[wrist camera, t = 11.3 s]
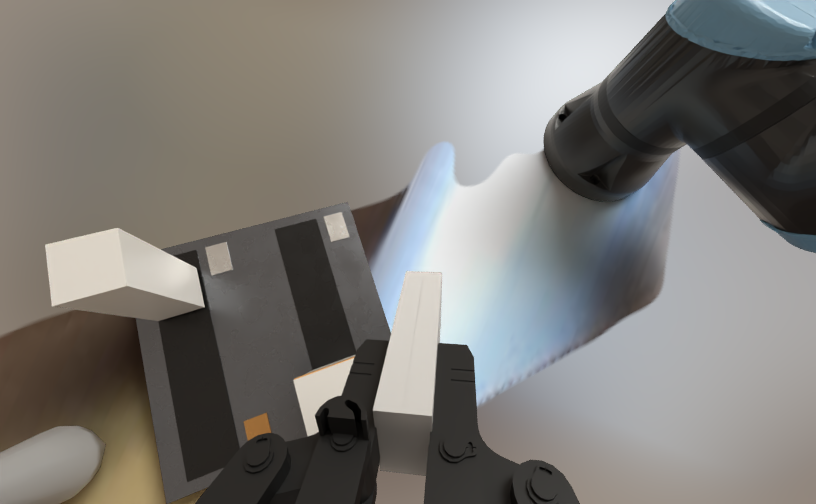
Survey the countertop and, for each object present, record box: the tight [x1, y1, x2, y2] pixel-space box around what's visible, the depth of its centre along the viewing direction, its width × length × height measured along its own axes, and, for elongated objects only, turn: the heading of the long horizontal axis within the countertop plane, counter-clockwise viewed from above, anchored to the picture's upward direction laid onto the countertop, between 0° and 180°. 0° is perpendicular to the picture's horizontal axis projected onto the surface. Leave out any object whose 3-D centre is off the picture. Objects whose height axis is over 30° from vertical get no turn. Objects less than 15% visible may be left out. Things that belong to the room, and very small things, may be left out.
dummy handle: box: [45, 228, 205, 321], centre depth 27 cm, size 4×4×12 cm
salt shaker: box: [0, 426, 106, 504], centre depth 23 cm, size 6×6×13 cm
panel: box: [136, 202, 391, 504], centre depth 34 cm, size 22×22×2 cm
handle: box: [293, 355, 355, 436], centre depth 27 cm, size 4×4×12 cm
